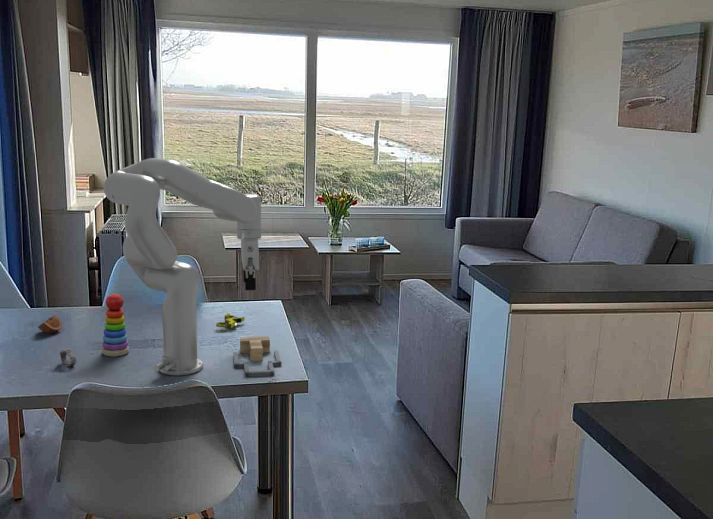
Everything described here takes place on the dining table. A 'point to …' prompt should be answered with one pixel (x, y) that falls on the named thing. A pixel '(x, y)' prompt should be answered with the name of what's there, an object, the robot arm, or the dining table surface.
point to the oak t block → (255, 346)
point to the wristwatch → (70, 354)
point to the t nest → (258, 373)
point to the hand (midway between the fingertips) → (249, 285)
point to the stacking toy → (115, 328)
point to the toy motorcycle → (230, 321)
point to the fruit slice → (51, 325)
